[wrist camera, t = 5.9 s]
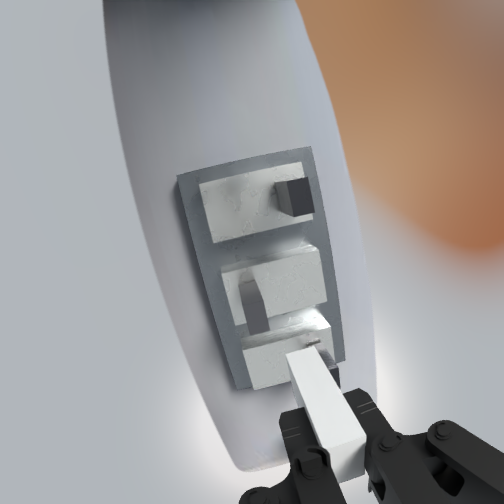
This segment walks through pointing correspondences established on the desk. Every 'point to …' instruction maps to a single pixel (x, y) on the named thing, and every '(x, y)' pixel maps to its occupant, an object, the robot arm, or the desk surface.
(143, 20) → the desk surface
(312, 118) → the desk surface
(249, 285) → the breaker
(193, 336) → the desk surface
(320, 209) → the breaker panel
